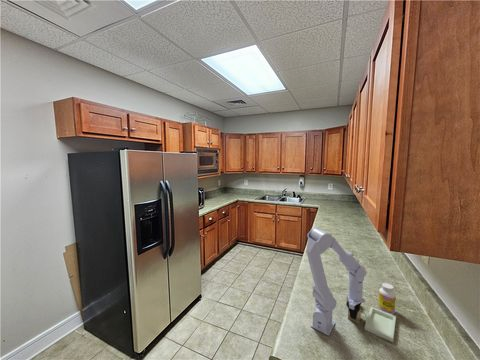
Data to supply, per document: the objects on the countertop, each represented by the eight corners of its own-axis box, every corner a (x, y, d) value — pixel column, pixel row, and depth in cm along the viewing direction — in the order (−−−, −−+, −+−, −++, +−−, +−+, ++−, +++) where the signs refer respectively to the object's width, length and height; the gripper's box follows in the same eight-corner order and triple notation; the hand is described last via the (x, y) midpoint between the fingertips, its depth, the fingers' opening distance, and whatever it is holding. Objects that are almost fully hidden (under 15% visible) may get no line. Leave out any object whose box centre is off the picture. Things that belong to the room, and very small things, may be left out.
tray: (393, 343, 83) (393, 338, 83) (364, 330, 89) (364, 326, 89) (395, 320, 95) (396, 316, 95) (370, 310, 101) (370, 306, 101)
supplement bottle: (380, 313, 99) (381, 288, 98) (376, 304, 105) (377, 280, 104) (397, 316, 97) (398, 291, 96) (392, 307, 103) (393, 283, 102)
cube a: (358, 323, 93) (359, 314, 93) (348, 318, 96) (348, 309, 96) (360, 317, 96) (361, 308, 96) (350, 313, 99) (350, 304, 99)
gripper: (362, 299, 87) (361, 329, 88) (368, 284, 98) (367, 310, 99) (344, 292, 92) (343, 321, 93) (351, 278, 103) (351, 304, 104)
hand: (354, 315), depth 96 cm, fingers closed on cube a, 4 cm apart
